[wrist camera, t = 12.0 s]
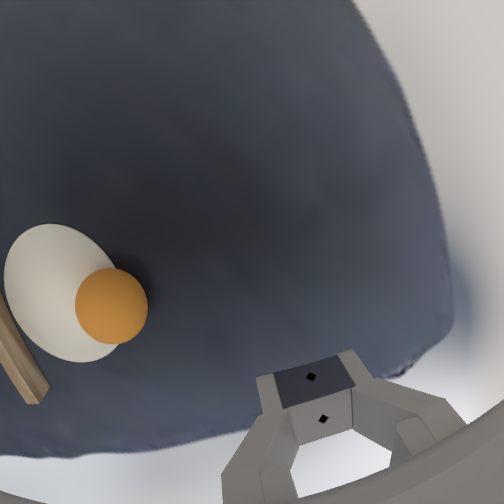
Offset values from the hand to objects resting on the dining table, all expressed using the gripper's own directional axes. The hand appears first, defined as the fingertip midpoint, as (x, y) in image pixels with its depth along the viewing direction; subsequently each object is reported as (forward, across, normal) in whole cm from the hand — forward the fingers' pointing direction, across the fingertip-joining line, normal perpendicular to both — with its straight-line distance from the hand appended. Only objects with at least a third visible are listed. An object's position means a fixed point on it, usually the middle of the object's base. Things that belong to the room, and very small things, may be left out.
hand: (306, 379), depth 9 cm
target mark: (+15, +17, 0) cm, 23 cm away
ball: (+12, +11, +1) cm, 16 cm away
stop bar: (+15, +25, 0) cm, 29 cm away
